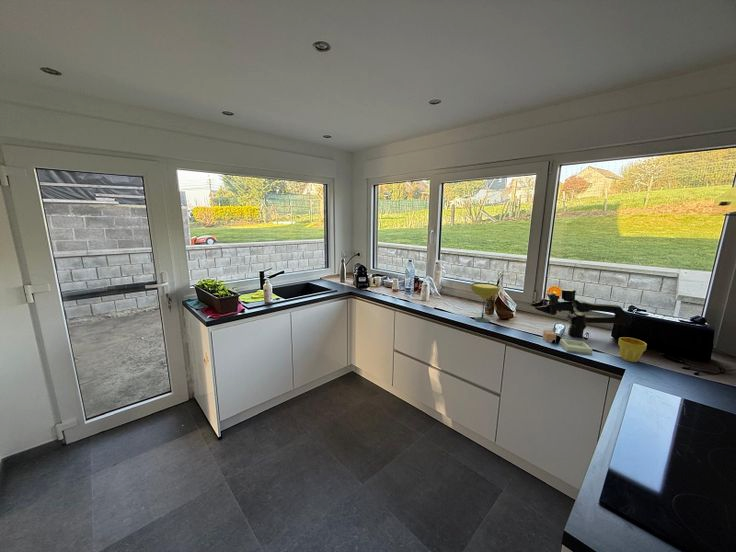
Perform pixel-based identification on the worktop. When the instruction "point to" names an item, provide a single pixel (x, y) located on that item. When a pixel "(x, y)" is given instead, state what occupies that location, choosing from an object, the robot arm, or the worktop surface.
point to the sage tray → (575, 346)
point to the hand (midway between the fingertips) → (532, 306)
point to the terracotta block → (549, 336)
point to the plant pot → (631, 348)
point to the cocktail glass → (484, 295)
